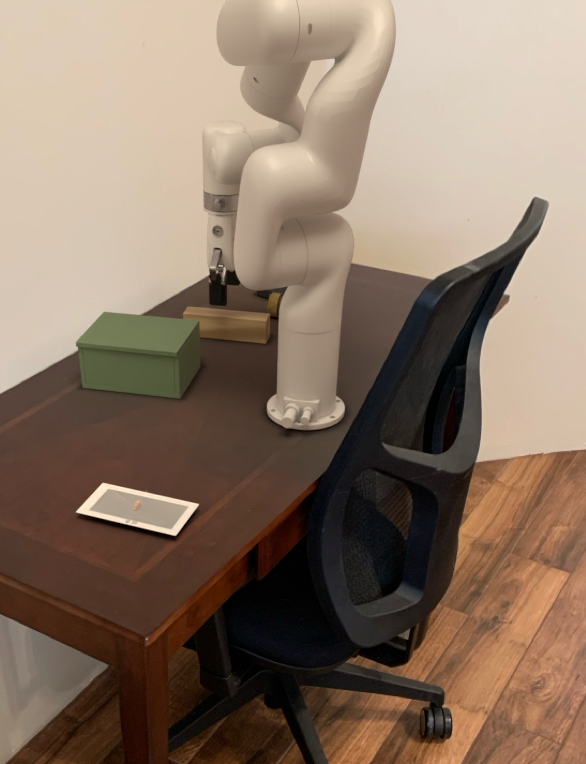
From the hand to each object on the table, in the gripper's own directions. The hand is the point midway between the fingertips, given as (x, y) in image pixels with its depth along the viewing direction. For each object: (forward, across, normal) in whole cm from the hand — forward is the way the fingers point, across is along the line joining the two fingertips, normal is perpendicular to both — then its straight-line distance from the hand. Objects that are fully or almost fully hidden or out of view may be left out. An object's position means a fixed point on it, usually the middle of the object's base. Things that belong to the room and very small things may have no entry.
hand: (225, 294), depth 166 cm
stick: (+8, -1, 0) cm, 8 cm away
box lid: (0, -21, +10) cm, 23 cm away
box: (+8, -21, +10) cm, 24 cm away
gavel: (+8, +18, -12) cm, 24 cm away
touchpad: (+7, -61, -3) cm, 61 cm away
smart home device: (+7, +28, -9) cm, 30 cm away
